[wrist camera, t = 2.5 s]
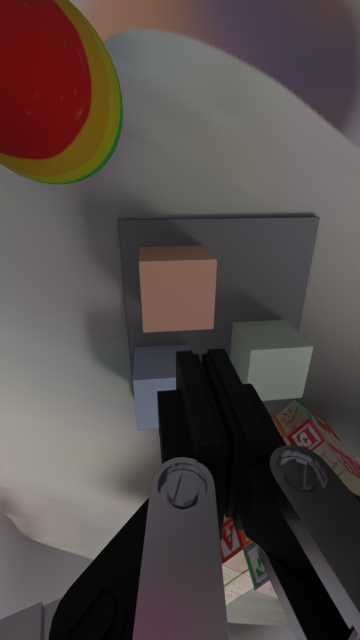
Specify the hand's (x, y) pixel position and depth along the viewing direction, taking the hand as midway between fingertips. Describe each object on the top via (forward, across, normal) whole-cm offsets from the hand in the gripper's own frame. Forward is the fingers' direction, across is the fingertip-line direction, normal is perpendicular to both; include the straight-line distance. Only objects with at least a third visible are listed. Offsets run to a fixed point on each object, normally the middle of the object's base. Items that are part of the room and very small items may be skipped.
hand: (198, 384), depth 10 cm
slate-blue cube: (+15, 0, +10) cm, 18 cm away
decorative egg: (+16, +6, -10) cm, 20 cm away
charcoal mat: (+15, -5, +4) cm, 16 cm away
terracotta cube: (+15, -1, 0) cm, 15 cm away
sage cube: (+15, -9, +8) cm, 19 cm away
